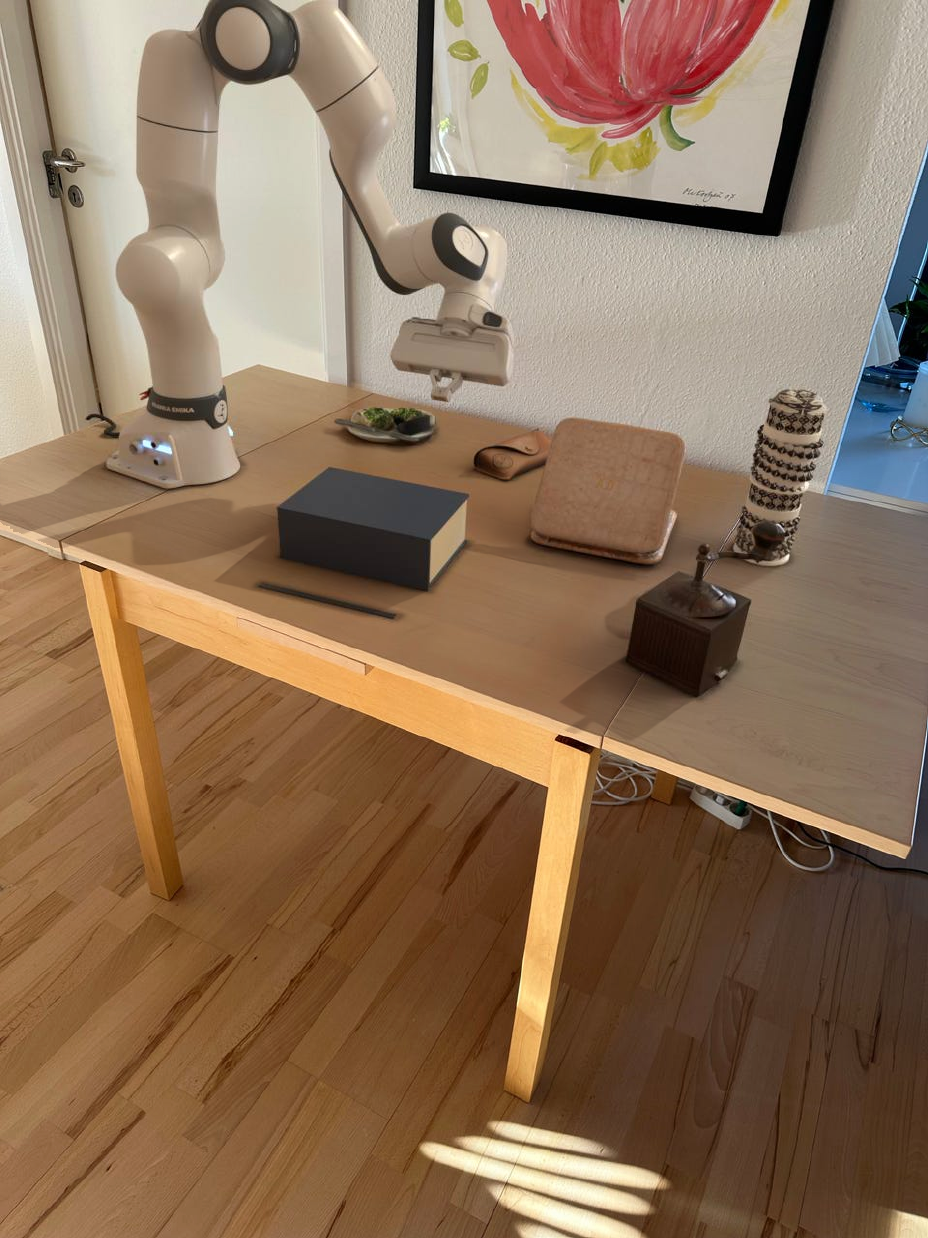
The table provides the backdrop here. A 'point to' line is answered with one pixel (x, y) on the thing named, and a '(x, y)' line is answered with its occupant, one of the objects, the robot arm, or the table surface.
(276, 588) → the dark grey thin rod
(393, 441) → the salad plate
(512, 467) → the sunglasses case
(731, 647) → the manual coffee grinder
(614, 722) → the table surface
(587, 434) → the case
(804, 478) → the white patterned cylinder
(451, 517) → the dictionary
